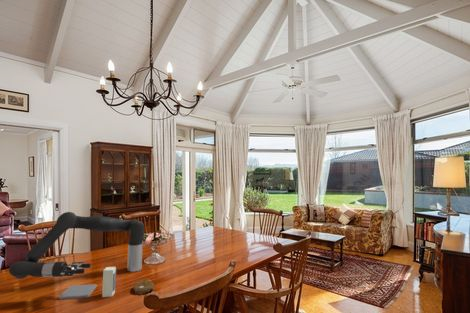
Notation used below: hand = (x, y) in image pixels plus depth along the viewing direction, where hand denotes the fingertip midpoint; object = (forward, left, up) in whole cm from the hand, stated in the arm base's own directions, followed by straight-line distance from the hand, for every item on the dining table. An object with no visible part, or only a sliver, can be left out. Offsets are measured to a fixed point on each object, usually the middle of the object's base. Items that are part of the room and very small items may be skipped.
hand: (87, 268), depth 143 cm
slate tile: (-5, -6, -15) cm, 17 cm away
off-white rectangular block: (0, +11, -15) cm, 19 cm away
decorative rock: (-5, +29, -15) cm, 33 cm away
